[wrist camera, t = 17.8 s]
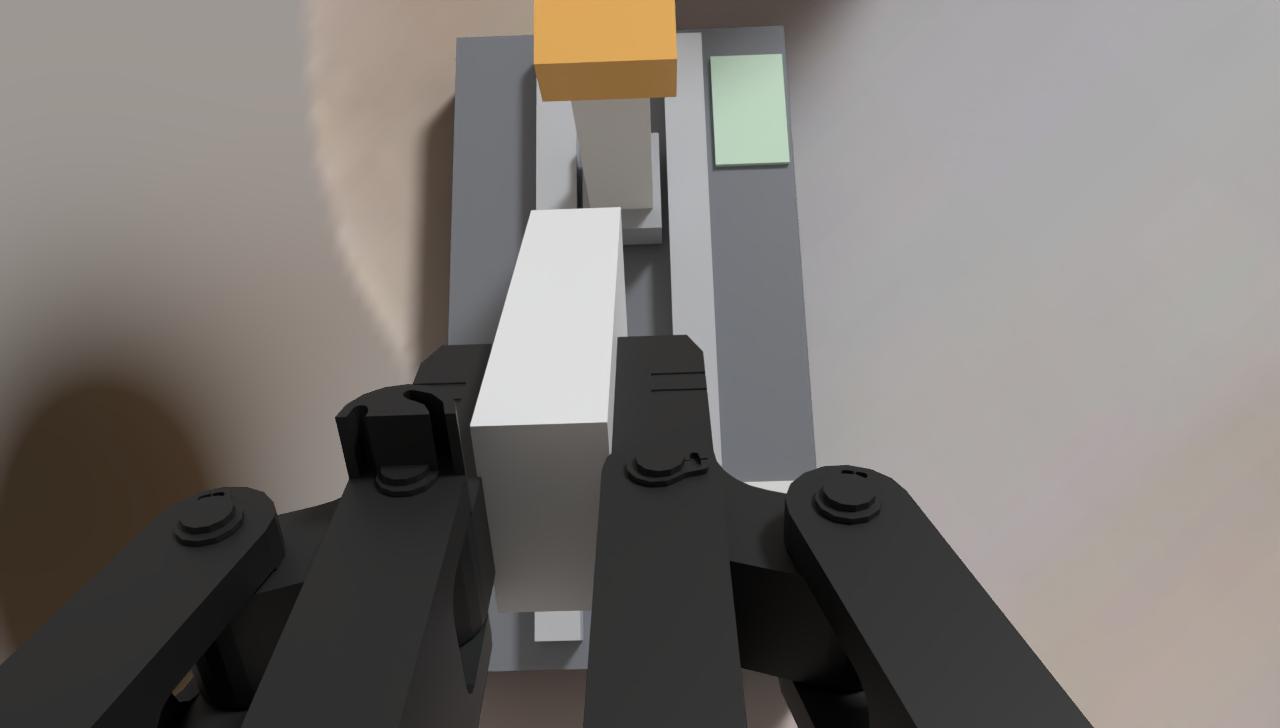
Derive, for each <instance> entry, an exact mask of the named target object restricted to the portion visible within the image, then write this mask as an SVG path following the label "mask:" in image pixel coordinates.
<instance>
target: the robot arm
mask: <svg viewBox="0 0 1280 728" xmlns="http://www.w3.org/2000/svg"><path fill="white" fill-rule="evenodd" d="M335 419H336V423H337V428H338V432H339V436H340V441H341V445H342V449H343V453H344V458H345V462H346V467H347V471H348V475H349V481H348V483H347V485H346V488H345V490H344V492H343V495H342V497H341V498H339V499H337V500H334V501H332V502H328V503H325V504H322V505H318V506H315V507H311V508H306V509H302V510H298V511H293V512H289V513H285V514H280V515H277V513H276V510H275V506H274V502H273V501H272V500H271V499H270V498H269V497H268V496H267V495H266V494H265V493H264V492H261V491H258V490H254V489H251V488H248V487H222V488H218V489H213V490H207V491H203V492H200V493H197V494H195V495H193V496H191V497H188V498H186V499H184V500H182V501H179V502H177V503H175V504H174V505H173V506H171V507H170V508H169V509H167V510H166V511H164V512H163V513H162V514H160V515H159V516H158V517H157V518H156V519H154V520H153V521H152V522H151V523H150V524H149V525H148V526H147V527H146V528H145V529H144V530H143V531H142V532H141V533H140V534H139V535H138V536H136V537H135V538H134V539H133V540H132V541H131V542H130V543H129V544H128V545H127V546H126V547H125V548H124V549H123V550H122V551H121V552H120V553H119V554H118V555H116V557H114V558H113V559H112V560H111V561H110V562H109V563H108V564H107V565H106V566H105V567H104V568H103V569H102V570H101V571H100V572H99V573H97V574H96V575H95V576H94V577H93V578H92V579H91V580H90V581H89V582H88V583H87V584H86V585H85V586H84V587H83V588H82V589H81V590H79V591H78V592H77V593H76V594H75V595H74V596H73V597H72V598H71V599H70V600H69V601H68V602H67V603H66V604H65V605H64V606H63V607H62V608H60V609H59V610H58V611H57V612H56V613H55V614H54V615H53V616H52V617H51V618H50V619H49V620H48V621H47V622H46V623H45V624H44V625H43V626H42V627H40V628H39V630H38V631H36V632H35V633H34V634H33V635H32V636H31V637H30V638H29V639H28V640H27V641H26V642H25V643H24V644H22V645H21V646H20V647H19V648H18V649H17V650H16V651H15V652H14V653H13V654H12V655H11V656H10V657H9V658H8V659H7V660H6V661H5V662H4V663H2V664H1V665H0V728H478V724H479V718H480V713H481V707H482V701H483V696H484V690H485V685H486V679H487V674H488V668H489V662H490V657H491V651H492V646H493V645H492V633H491V626H490V619H489V613H488V609H489V604H490V599H491V594H492V589H493V584H494V590H495V597H496V603H497V610H498V613H508V612H546V611H583V610H592V612H591V626H590V640H589V654H588V668H587V682H586V696H585V710H584V724H583V728H747V721H746V712H745V703H744V693H743V684H742V674H741V668H744V669H748V670H753V671H757V672H761V673H765V674H769V675H773V676H777V677H778V678H779V683H780V687H781V692H782V694H783V696H784V698H785V700H786V702H787V705H788V707H789V709H790V711H791V713H792V715H793V718H794V720H795V722H796V724H797V726H798V728H1094V727H1093V726H1092V725H1091V724H1090V722H1089V721H1088V720H1087V719H1086V717H1085V716H1084V715H1083V714H1082V712H1081V711H1080V710H1079V708H1078V707H1077V706H1076V705H1075V703H1074V702H1073V701H1072V700H1071V698H1070V697H1069V696H1068V695H1067V693H1066V692H1065V691H1064V689H1063V688H1062V687H1061V686H1060V684H1059V683H1058V682H1057V681H1056V679H1055V678H1054V677H1053V676H1052V674H1051V673H1050V672H1049V671H1048V669H1047V668H1046V667H1045V665H1044V664H1043V663H1042V662H1041V660H1040V659H1039V658H1038V657H1037V655H1036V654H1035V653H1034V652H1033V650H1032V649H1031V648H1030V647H1029V645H1028V644H1027V643H1026V641H1025V640H1024V639H1023V638H1022V636H1021V635H1020V634H1019V633H1018V631H1017V630H1016V629H1015V628H1014V626H1013V625H1012V624H1011V623H1010V621H1009V620H1008V619H1007V617H1006V616H1005V615H1004V614H1003V612H1002V611H1001V610H1000V609H999V607H998V606H997V605H996V604H995V602H994V601H993V600H992V598H991V597H990V596H989V595H988V593H987V592H986V591H985V590H984V588H983V587H982V586H981V585H980V583H979V582H978V581H977V580H976V578H975V577H974V576H973V574H972V573H971V572H970V571H969V569H968V568H967V567H966V566H965V564H964V563H963V562H962V561H961V559H960V558H959V557H958V556H957V554H956V553H955V552H954V550H953V549H952V548H951V547H950V545H949V544H948V543H947V542H946V540H945V539H944V538H943V537H942V535H941V534H940V533H939V531H938V530H937V529H936V528H935V526H934V525H933V524H932V523H931V521H930V520H929V519H928V518H927V516H926V515H925V514H924V513H923V511H922V510H921V509H920V507H919V506H918V505H917V504H916V502H915V501H914V500H913V499H912V497H911V496H910V495H909V494H908V492H907V491H906V490H905V489H904V488H902V487H901V486H900V485H899V484H898V483H897V482H895V481H894V480H893V479H892V478H890V477H888V476H885V475H883V474H881V473H878V472H876V471H874V470H871V469H867V468H861V467H855V466H849V465H840V466H824V467H820V468H817V469H814V470H811V471H808V472H805V473H803V474H802V475H801V476H799V477H798V478H797V479H796V480H794V481H793V482H792V483H791V484H790V486H789V489H788V491H787V493H781V492H776V491H771V490H766V489H762V488H758V487H754V486H751V485H748V484H746V483H744V482H742V481H740V480H737V479H735V478H734V477H733V476H731V475H730V474H729V473H727V472H726V471H725V470H724V469H723V468H722V467H721V466H720V464H719V463H718V462H717V460H716V457H715V454H714V450H713V440H712V431H711V421H710V412H709V402H708V393H707V383H706V376H705V364H704V355H703V351H702V350H701V349H700V348H699V347H698V346H697V345H696V344H695V343H694V342H693V341H692V339H691V338H690V337H689V336H688V335H659V336H629V337H628V335H627V316H626V298H625V279H624V260H623V241H622V222H621V207H609V208H582V209H554V210H531V213H530V216H529V220H528V223H527V227H526V230H525V234H524V237H523V241H522V244H521V248H520V251H519V255H518V259H517V262H516V266H515V269H514V273H513V276H512V280H511V283H510V287H509V290H508V294H507V297H506V301H505V304H504V308H503V311H502V315H501V318H500V322H499V325H498V329H497V332H496V336H495V339H494V343H493V344H467V345H442V346H441V347H440V348H439V349H438V350H436V351H435V352H434V353H433V354H432V355H431V356H429V357H428V358H427V359H426V360H425V361H424V362H422V363H421V365H420V367H419V370H418V372H417V375H416V377H415V380H414V382H413V385H411V384H406V385H399V386H392V387H385V388H382V389H378V390H375V391H372V392H369V393H367V394H364V395H362V396H360V397H358V398H357V399H355V400H353V401H352V402H350V403H348V404H347V405H346V406H345V407H344V408H343V409H342V410H341V411H340V412H339V413H338V415H337V416H336V417H335ZM190 669H191V670H192V673H193V676H194V677H193V679H192V680H191V681H190V682H189V683H188V684H187V686H186V687H185V688H184V689H183V690H182V691H181V692H179V693H178V694H177V695H176V696H174V695H173V694H172V691H173V690H174V689H175V687H176V686H177V685H178V684H179V683H180V681H181V680H182V679H183V678H184V677H185V675H186V674H187V673H188V672H189V671H190Z"/></svg>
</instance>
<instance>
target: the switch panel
mask: <svg viewBox="0 0 1280 728" xmlns="http://www.w3.org/2000/svg"><path fill="white" fill-rule="evenodd" d="M676 42H677V97H661V98H650V121H651V133H659V160H660V190H661V220H662V244H635V245H623V260H624V279H625V298H626V316H627V335H628V337H629V336H659V335H688V336H689V337H690V338H691V339H692V341H693V342H694V343H695V344H696V345H697V346H698V347H699V348H700V349H701V350H702V351H703V355H704V364H705V376H706V383H707V393H708V402H709V412H710V421H711V431H712V440H713V450H714V454H715V457H716V460H717V462H718V463H719V464H720V466H721V467H722V468H723V469H724V470H725V471H726V472H727V473H729V474H730V475H731V476H733V477H734V478H735V479H737V480H740V481H742V482H744V483H746V484H748V485H751V486H754V487H758V488H762V489H766V490H771V491H776V492H781V493H787V491H788V489H789V486H790V484H791V483H792V482H793V481H794V480H796V479H797V478H798V477H799V476H801V475H802V474H803V473H805V472H808V471H811V470H814V469H816V455H815V442H814V428H813V415H812V401H811V387H810V374H809V360H808V347H807V333H806V320H805V306H804V293H803V279H802V266H801V252H800V239H799V225H798V212H797V198H796V184H795V171H794V157H793V144H792V130H791V117H790V103H789V90H788V76H787V63H786V49H785V36H784V25H782V26H756V27H729V28H703V29H677V30H676ZM582 208H583V178H582V160H581V154H580V149H579V143H578V138H577V132H576V127H575V121H574V115H573V110H572V104H571V101H552V102H543V101H542V97H541V93H540V89H539V84H538V80H537V76H536V72H535V67H534V35H518V36H492V37H465V38H457V45H456V80H455V115H454V150H453V185H452V221H451V256H450V291H449V326H448V345H467V344H493V343H494V339H495V336H496V332H497V329H498V325H499V322H500V318H501V315H502V311H503V308H504V304H505V301H506V297H507V294H508V290H509V287H510V283H511V280H512V276H513V273H514V269H515V266H516V262H517V259H518V255H519V251H520V248H521V244H522V241H523V237H524V234H525V230H526V227H527V223H528V220H529V216H530V213H531V210H554V209H582ZM591 612H592V610H583V611H546V612H508V613H498V610H497V603H496V597H495V590H494V584H493V589H492V594H491V599H490V604H489V609H488V613H489V619H490V626H491V633H492V645H493V646H492V651H491V657H490V662H489V668H488V672H491V671H530V670H569V669H587V668H588V654H589V640H590V626H591Z"/></svg>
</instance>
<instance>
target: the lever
mask: <svg viewBox="0 0 1280 728" xmlns="http://www.w3.org/2000/svg"><path fill="white" fill-rule="evenodd" d="M534 67H535V72H536V76H537V80H538V84H539V89H540V93H541V97H542V101H543V102H552V101H571V104H572V110H573V115H574V121H575V127H576V132H577V138H578V143H579V149H580V154H581V160H582V178H583V208H609V207H621V222H622V241H623V245H635V244H662V220H661V190H660V160H659V133H651V121H650V98H661V97H677V42H676V18H675V0H534Z"/></svg>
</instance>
